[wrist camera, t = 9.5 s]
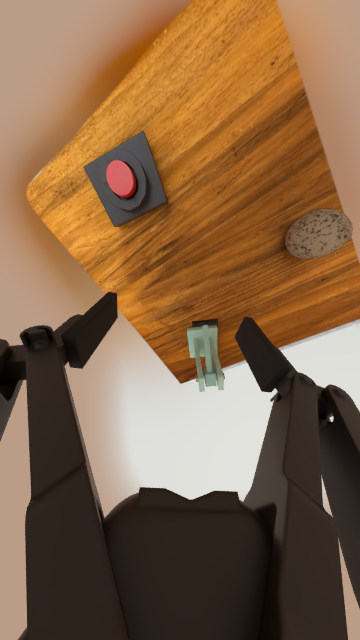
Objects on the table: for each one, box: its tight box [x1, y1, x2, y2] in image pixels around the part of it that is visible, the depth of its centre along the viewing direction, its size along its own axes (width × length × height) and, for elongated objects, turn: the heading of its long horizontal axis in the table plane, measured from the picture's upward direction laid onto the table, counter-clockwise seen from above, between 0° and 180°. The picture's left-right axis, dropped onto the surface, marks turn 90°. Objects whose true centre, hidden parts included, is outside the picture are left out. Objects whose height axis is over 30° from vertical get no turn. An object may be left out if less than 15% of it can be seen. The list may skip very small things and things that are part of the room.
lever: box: [192, 319, 218, 387], centre depth 31 cm, size 14×5×2 cm, turn 7°
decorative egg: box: [285, 209, 352, 259], centre depth 24 cm, size 7×7×10 cm
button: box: [106, 160, 136, 198], centre depth 21 cm, size 4×4×2 cm
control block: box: [84, 131, 168, 227], centre depth 23 cm, size 10×8×4 cm
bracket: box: [187, 325, 225, 392], centre depth 36 cm, size 10×8×14 cm
